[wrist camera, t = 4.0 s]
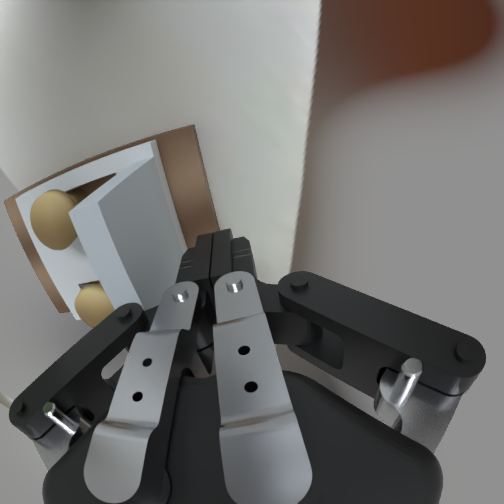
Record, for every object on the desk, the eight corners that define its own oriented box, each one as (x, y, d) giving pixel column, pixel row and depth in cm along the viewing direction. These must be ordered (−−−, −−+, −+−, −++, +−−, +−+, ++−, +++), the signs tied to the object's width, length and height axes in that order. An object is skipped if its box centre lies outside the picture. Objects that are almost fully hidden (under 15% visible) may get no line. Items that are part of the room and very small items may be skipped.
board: (12, 195, 15) (-25, 221, 11) (194, 124, 15) (180, 131, 11) (64, 304, 21) (43, 341, 17) (231, 276, 20) (233, 321, 16)
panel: (24, 192, 14) (-52, 250, 7) (155, 139, 14) (89, 177, 7) (81, 310, 19) (44, 389, 12) (202, 291, 19) (194, 392, 12)
